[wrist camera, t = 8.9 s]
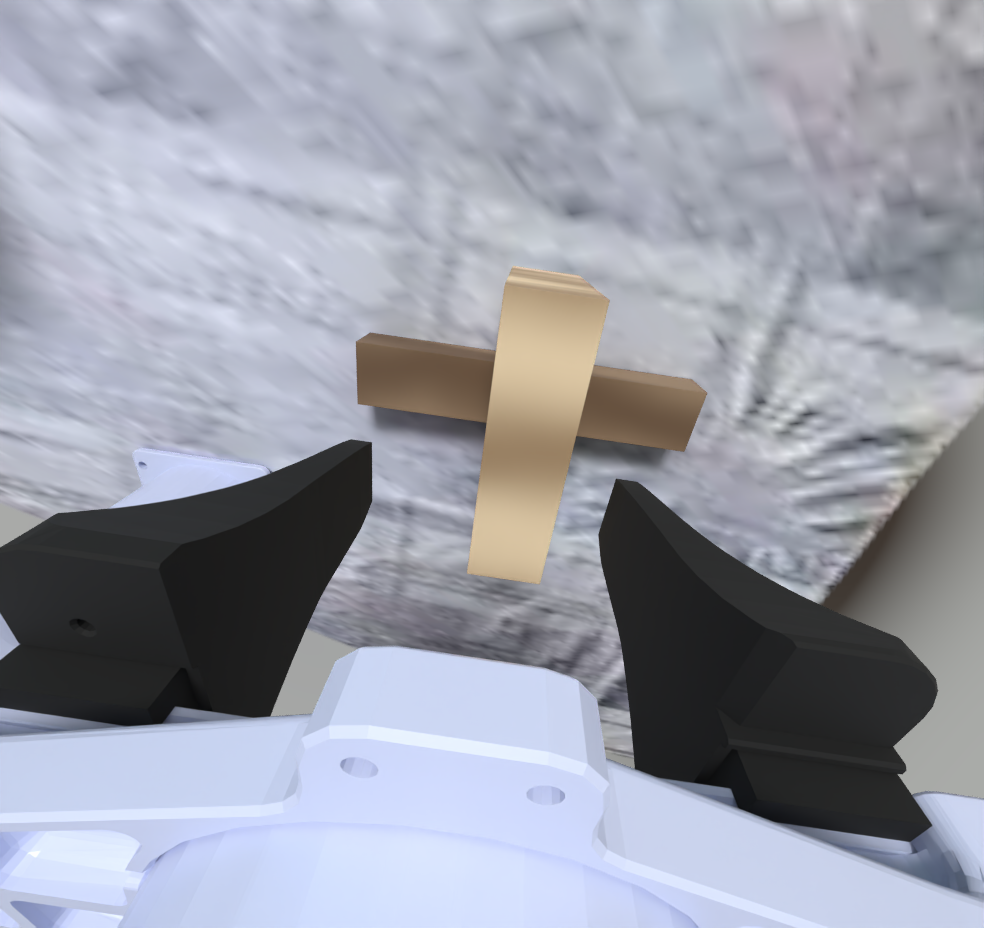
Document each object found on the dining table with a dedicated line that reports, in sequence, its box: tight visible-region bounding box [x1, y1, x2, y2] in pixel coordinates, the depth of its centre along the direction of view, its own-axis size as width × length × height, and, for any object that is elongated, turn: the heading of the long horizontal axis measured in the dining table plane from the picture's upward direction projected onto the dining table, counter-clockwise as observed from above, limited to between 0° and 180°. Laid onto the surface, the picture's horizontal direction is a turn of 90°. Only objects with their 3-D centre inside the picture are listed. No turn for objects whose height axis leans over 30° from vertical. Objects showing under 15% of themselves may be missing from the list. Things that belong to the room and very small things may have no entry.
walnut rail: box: [356, 333, 707, 452], centre depth 21 cm, size 3×16×2 cm, turn 83°
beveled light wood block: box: [467, 266, 610, 584], centre depth 18 cm, size 11×3×8 cm, turn 173°
